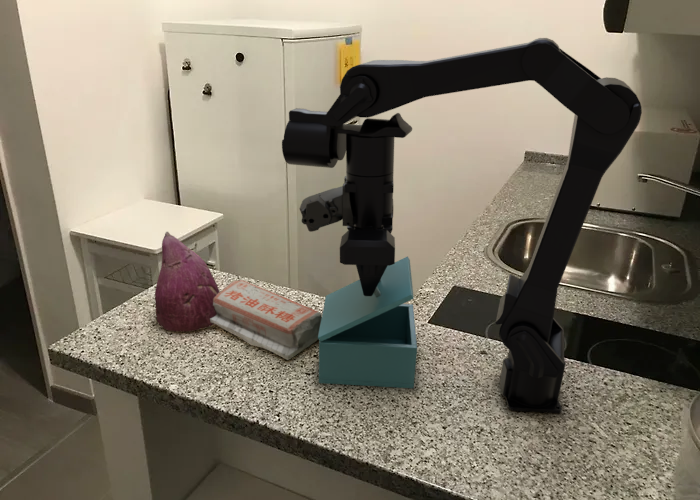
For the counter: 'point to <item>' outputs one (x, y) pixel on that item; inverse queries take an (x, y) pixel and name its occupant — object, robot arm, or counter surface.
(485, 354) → the counter surface
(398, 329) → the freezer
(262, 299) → the packaged product
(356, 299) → the freezer lid
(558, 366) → the robot arm
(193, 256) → the vegetable
